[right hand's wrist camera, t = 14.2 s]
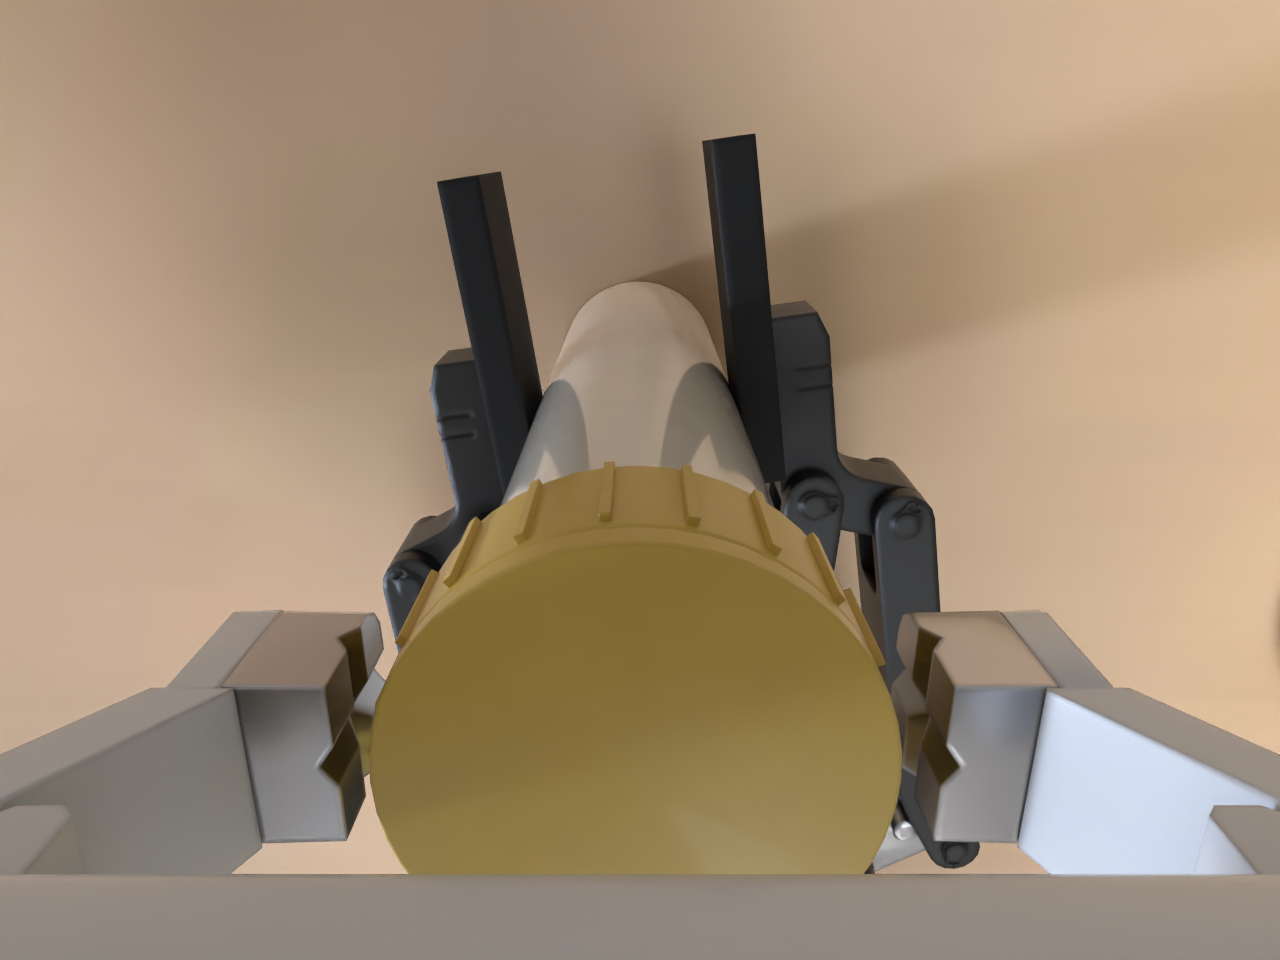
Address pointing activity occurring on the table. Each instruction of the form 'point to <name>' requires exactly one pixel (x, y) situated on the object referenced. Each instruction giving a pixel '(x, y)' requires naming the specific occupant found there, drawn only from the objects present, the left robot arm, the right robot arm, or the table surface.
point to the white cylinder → (638, 396)
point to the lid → (635, 692)
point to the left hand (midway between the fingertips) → (598, 159)
